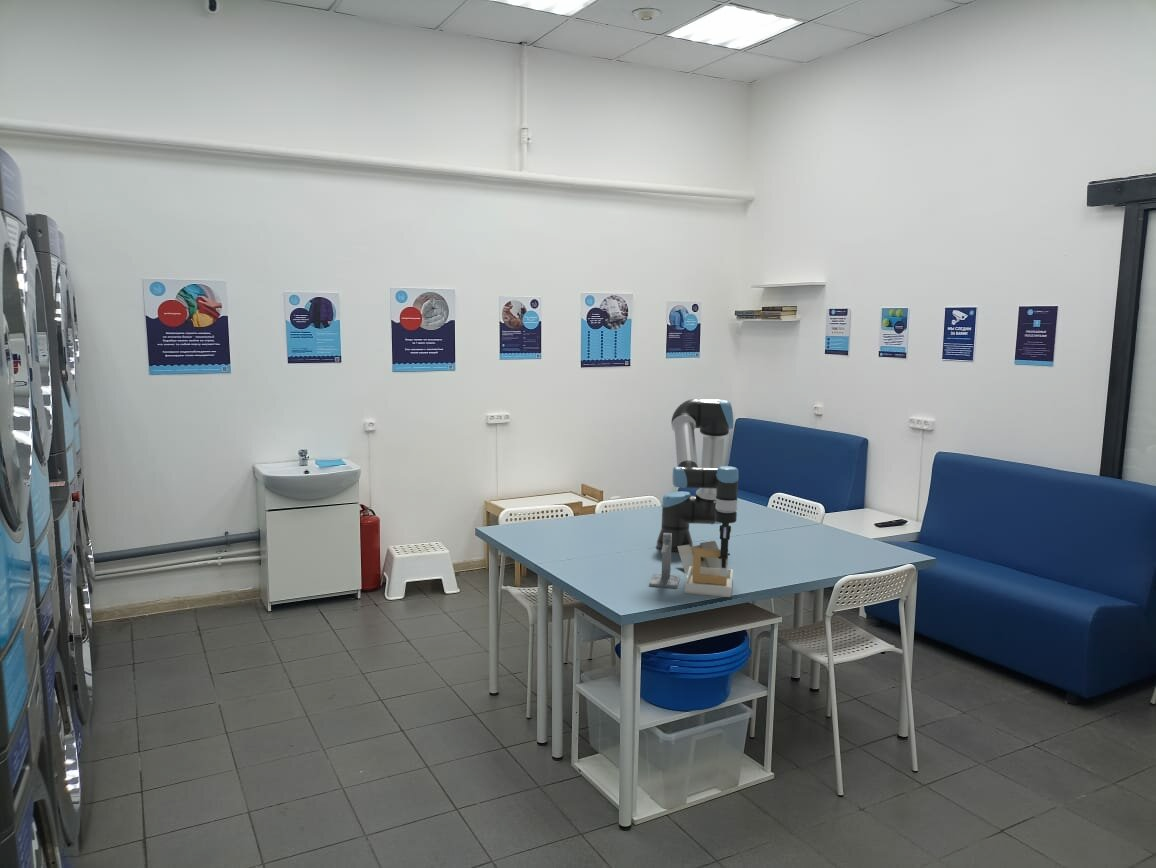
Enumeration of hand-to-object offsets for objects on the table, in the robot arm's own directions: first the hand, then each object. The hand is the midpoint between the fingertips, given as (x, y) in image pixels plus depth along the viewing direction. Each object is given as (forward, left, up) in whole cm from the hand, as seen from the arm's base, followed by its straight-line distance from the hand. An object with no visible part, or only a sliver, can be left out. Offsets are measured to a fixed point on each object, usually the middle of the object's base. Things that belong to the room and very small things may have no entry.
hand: (723, 574), depth 290 cm
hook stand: (+2, -21, -5) cm, 21 cm away
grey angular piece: (-21, -9, -5) cm, 24 cm away
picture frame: (0, -5, -3) cm, 6 cm away
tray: (0, -5, -5) cm, 7 cm away
